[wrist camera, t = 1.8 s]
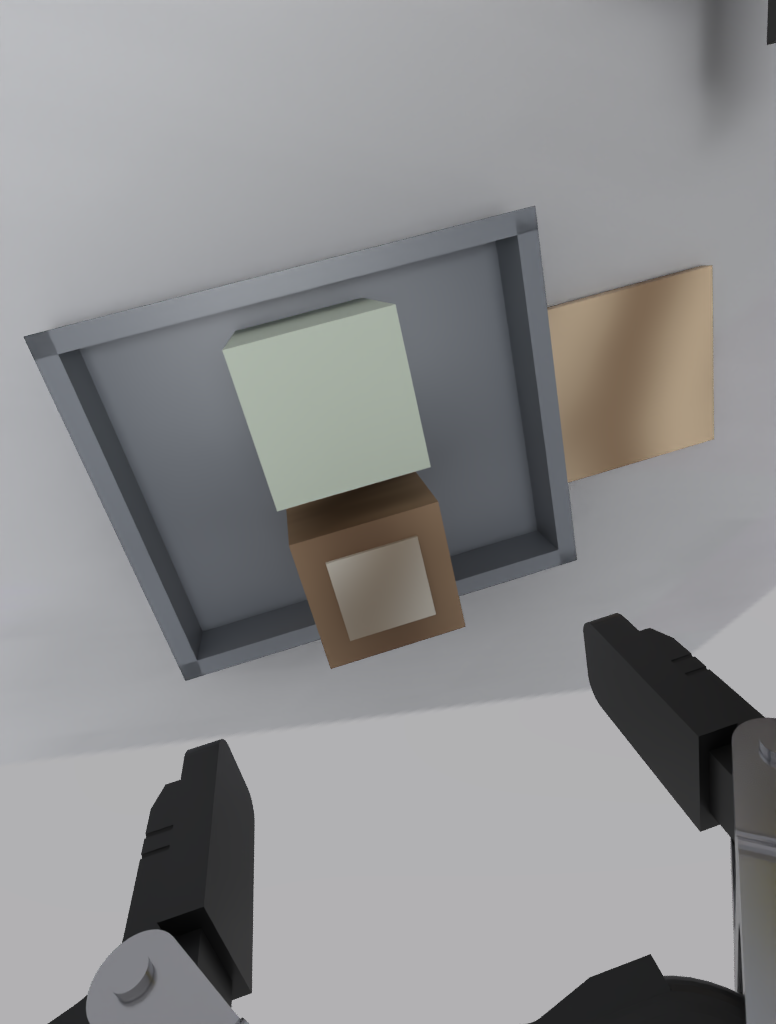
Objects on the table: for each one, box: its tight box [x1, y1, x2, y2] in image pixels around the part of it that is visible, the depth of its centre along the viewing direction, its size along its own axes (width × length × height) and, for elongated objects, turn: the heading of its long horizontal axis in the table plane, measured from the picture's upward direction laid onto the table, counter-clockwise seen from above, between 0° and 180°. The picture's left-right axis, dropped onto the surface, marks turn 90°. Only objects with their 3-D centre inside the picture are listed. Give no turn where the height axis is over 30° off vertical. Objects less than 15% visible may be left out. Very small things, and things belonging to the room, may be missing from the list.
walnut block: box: [286, 471, 465, 669], centre depth 21 cm, size 4×4×6 cm
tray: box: [24, 206, 577, 681], centre depth 22 cm, size 16×13×2 cm
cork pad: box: [547, 265, 714, 482], centre depth 24 cm, size 7×7×1 cm
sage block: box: [222, 298, 431, 511], centre depth 18 cm, size 4×4×6 cm
